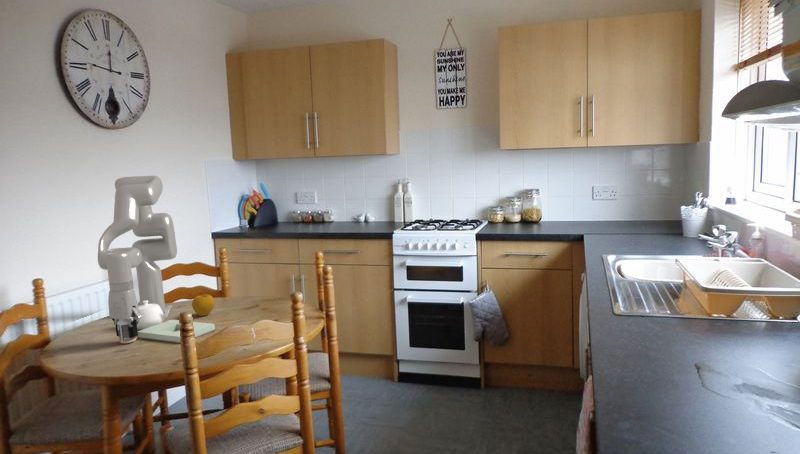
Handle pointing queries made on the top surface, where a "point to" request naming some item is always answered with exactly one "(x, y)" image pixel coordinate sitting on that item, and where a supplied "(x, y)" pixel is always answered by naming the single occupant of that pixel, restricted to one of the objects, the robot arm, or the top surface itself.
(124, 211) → the robot arm
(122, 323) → the pill bottle
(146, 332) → the pocket board
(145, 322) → the teapot
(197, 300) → the apple
